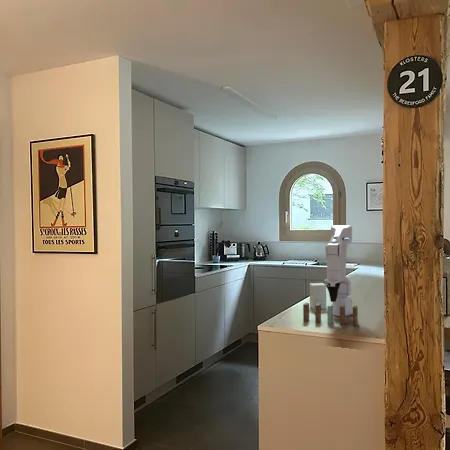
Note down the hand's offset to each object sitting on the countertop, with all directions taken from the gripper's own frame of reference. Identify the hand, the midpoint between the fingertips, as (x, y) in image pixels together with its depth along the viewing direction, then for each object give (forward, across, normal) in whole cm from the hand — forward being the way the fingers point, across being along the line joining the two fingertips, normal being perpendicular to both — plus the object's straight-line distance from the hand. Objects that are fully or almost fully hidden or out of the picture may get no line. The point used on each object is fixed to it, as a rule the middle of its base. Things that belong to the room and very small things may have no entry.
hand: (333, 300), depth 211 cm
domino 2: (+10, -1, -7) cm, 13 cm away
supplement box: (+11, -32, -10) cm, 36 cm away
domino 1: (+10, -1, -13) cm, 16 cm away
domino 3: (+10, 0, -2) cm, 11 cm away
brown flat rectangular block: (+10, +1, +9) cm, 14 cm away
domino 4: (+10, 0, +4) cm, 11 cm away
